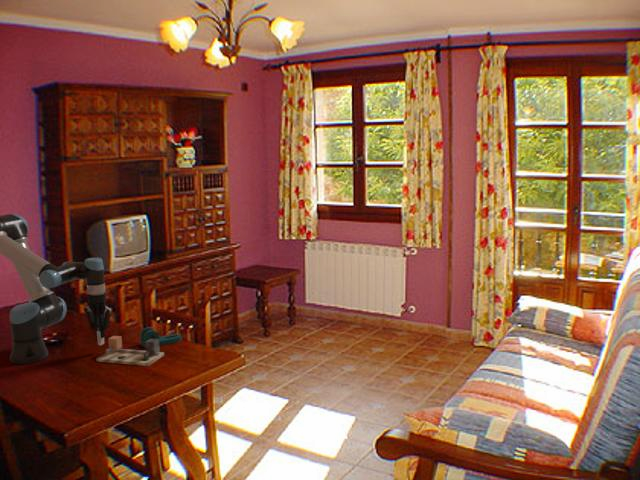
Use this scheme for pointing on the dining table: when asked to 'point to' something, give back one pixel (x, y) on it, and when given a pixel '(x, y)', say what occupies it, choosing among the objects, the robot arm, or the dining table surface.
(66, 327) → the dining table surface
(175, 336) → the teal curved handle
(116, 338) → the block
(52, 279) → the robot arm
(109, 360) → the gauge board
